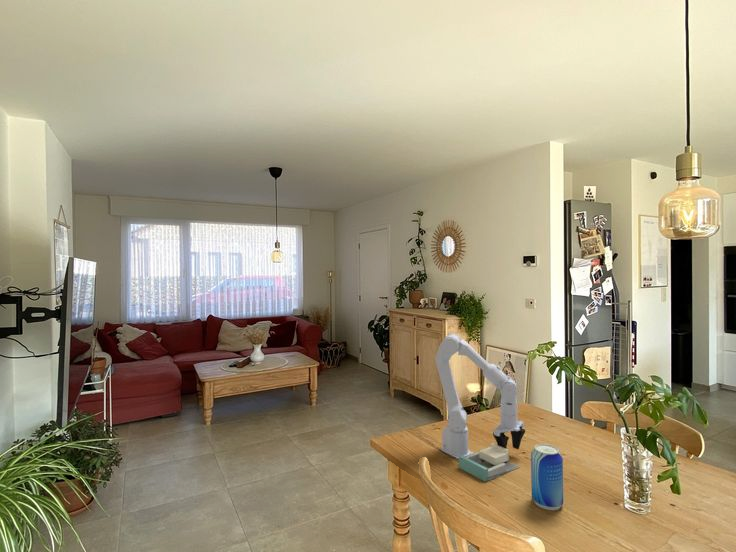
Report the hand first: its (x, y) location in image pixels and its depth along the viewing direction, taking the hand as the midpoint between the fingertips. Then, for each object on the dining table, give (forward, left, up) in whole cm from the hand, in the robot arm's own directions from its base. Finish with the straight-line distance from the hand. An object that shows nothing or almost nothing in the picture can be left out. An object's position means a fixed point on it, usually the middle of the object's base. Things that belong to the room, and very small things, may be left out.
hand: (509, 451), depth 144 cm
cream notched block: (0, -8, -2) cm, 9 cm away
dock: (0, -11, -3) cm, 12 cm away
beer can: (+24, -14, -3) cm, 28 cm away
